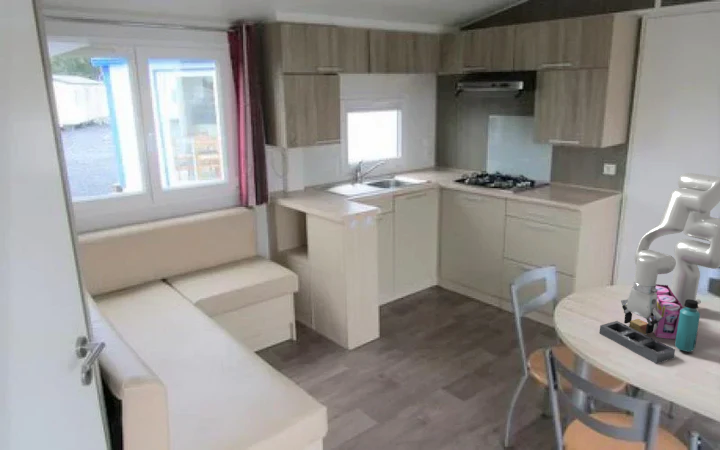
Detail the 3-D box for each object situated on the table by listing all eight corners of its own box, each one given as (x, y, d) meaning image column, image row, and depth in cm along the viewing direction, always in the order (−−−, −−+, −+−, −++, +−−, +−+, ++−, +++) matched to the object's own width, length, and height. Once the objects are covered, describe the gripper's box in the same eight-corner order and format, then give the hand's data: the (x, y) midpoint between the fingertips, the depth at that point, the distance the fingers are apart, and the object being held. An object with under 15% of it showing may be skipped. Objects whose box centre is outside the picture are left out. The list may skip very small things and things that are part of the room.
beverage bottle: (694, 357, 189) (703, 306, 183) (672, 352, 192) (681, 302, 187) (694, 349, 194) (703, 299, 189) (673, 344, 198) (681, 295, 192)
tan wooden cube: (636, 329, 210) (638, 318, 209) (647, 334, 206) (648, 323, 205) (628, 331, 208) (630, 321, 207) (638, 336, 204) (640, 325, 203)
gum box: (679, 341, 200) (685, 309, 196) (656, 339, 202) (661, 307, 198) (663, 314, 222) (668, 284, 218) (643, 312, 224) (647, 283, 220)
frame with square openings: (615, 328, 211) (617, 320, 210) (673, 358, 188) (675, 349, 188) (599, 333, 207) (600, 325, 206) (656, 363, 185) (657, 355, 184)
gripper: (671, 293, 195) (664, 335, 200) (631, 278, 211) (626, 317, 215) (657, 297, 193) (650, 339, 197) (618, 281, 208) (612, 320, 213)
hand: (638, 327), depth 206 cm, fingers open, 9 cm apart
